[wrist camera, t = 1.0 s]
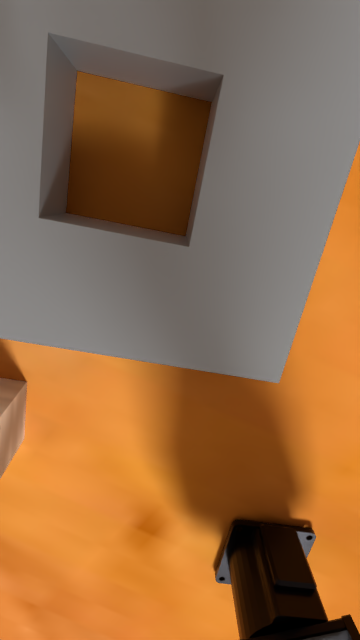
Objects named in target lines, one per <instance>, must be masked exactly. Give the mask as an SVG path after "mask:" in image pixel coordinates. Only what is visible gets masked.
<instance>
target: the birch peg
mask: <svg viewBox="0 0 360 640" xmlns="http://www.w3.org/2000/svg"><path fill="white" fill-rule="evenodd" d="M26 392H27V382H25V381H19V380H12V379H6V378H0V478H1V477H2V475H3V473H4V472H5V470H6V468H7V466H8V465H9V463H10V461H11V460H12V458H13V456H14V455H15V453H16V451H17V450H18V448H19V446H20V445H21V443H22V441H23V440H24V434H25V413H26Z"/></svg>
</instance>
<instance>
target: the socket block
mask: <svg viewBox="0 0 360 640" xmlns="http://www.w3.org/2000/svg"><path fill="white" fill-rule="evenodd" d="M77 71H81V72H85V73H89V74H93V75H98V76H102V77H106V78H111V79H115V80H119V81H123V82H128V83H132V84H136V85H141V86H145V87H149V88H153V89H158V90H162V91H166V92H171V93H175V94H179V95H183V96H188V97H192V98H196V99H201V100H205V101H209V102H212V103H211V108H210V113H209V118H208V124H207V129H206V134H205V139H204V144H203V149H202V154H201V159H200V165H199V170H198V175H197V180H196V185H195V190H194V195H193V200H192V205H191V211H190V216H189V221H188V226H187V231H186V236H182V235H176V234H171V233H166V232H161V231H156V230H151V229H146V228H141V227H136V226H131V225H126V224H120V223H115V222H110V221H105V220H100V219H95V218H90V217H85V216H80V215H75V214H69V213H66V207H67V194H68V181H69V169H70V156H71V143H72V130H73V117H74V104H75V91H76V78H77ZM359 142H360V0H0V338H2V339H8V340H14V341H20V342H26V343H33V344H39V345H45V346H51V347H57V348H64V349H70V350H76V351H82V352H88V353H95V354H101V355H107V356H113V357H119V358H126V359H132V360H138V361H144V362H150V363H157V364H163V365H169V366H175V367H181V368H188V369H194V370H200V371H206V372H212V373H219V374H225V375H231V376H237V377H243V378H250V379H256V380H262V381H268V382H274V383H279V381H280V378H281V375H282V372H283V369H284V366H285V363H286V360H287V357H288V354H289V351H290V348H291V345H292V342H293V339H294V336H295V333H296V330H297V327H298V324H299V321H300V318H301V315H302V312H303V309H304V306H305V303H306V300H307V297H308V294H309V291H310V288H311V285H312V282H313V279H314V276H315V273H316V270H317V267H318V264H319V262H320V259H321V256H322V253H323V250H324V247H325V244H326V241H327V238H328V235H329V232H330V229H331V226H332V223H333V220H334V217H335V214H336V211H337V208H338V205H339V202H340V199H341V196H342V193H343V190H344V187H345V184H346V181H347V178H348V175H349V172H350V169H351V166H352V163H353V160H354V157H355V154H356V151H357V148H358V145H359Z"/></svg>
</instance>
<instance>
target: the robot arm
mask: <svg viewBox="0 0 360 640" xmlns="http://www.w3.org/2000/svg"><path fill="white" fill-rule="evenodd" d="M315 539H316V536H315V533H314V531H313V530H312V529H310V528H303V527H295V526H287V525H279V524H271V523H263V522H255V521H247V520H235V521H233V522H232V524H231V527H230V530H229V533H228V536H227V539H226V542H225V545H224V548H223V551H222V554H221V557H220V560H219V563H218V566H217V569H216V572H215V578H216V581H217V582H218V583H224V584H231V586H232V592H233V599H234V605H235V612H236V618H237V625H238V631H239V637H240V640H360V634H359V632H358V630H357V628H356V626H355V624H354V622H353V620H352V617H351V615H350V614H349V615H345V616H341V617H342V618H340V619H335V620H331V621H328V618H327V615H326V613H325V610H324V607H323V605H322V602H321V599H320V596H319V594H318V591H317V588H316V587H317V586H316V582H315V580H314V577H313V574H312V572H311V569H310V566H309V564H308V561H307V556H308V554H309V552H310V550H311V547H312V545H313V543H314V541H315Z"/></svg>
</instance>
